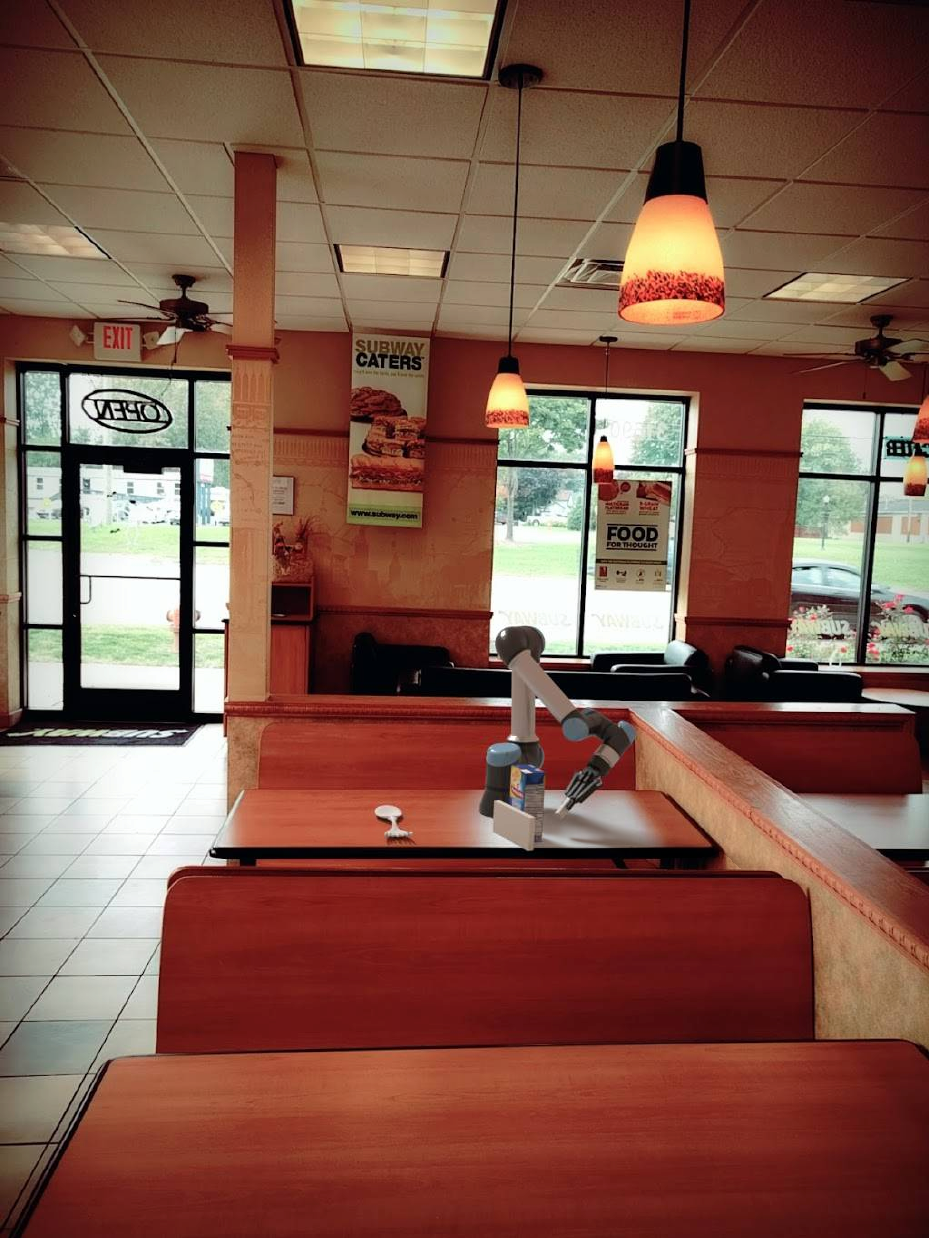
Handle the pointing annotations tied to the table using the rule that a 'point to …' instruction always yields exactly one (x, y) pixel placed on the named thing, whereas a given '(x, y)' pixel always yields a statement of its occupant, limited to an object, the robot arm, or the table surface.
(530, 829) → the board
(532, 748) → the robot arm
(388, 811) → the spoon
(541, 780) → the beverage box
